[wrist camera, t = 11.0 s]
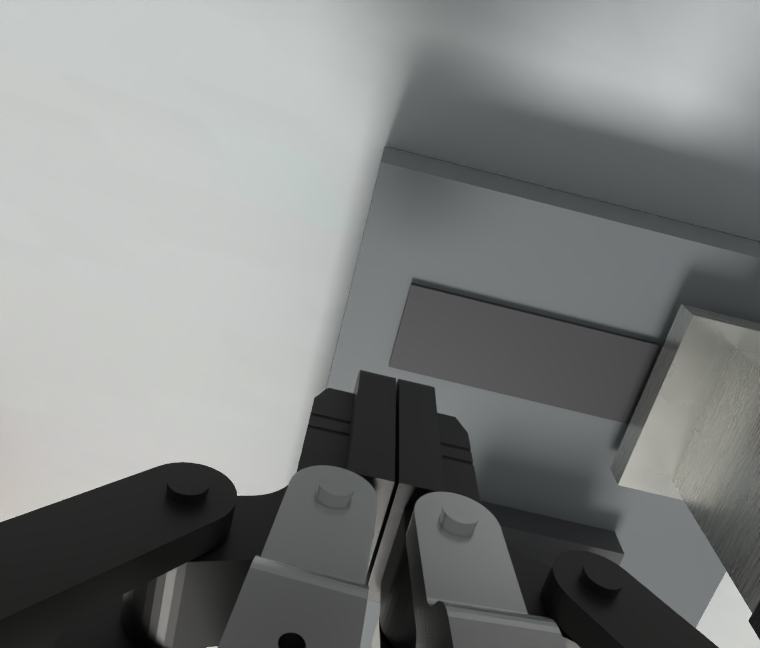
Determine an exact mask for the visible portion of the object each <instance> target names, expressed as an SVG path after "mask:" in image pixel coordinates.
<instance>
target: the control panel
mask: <svg viewBox="0 0 760 648" xmlns="http://www.w3.org/2000/svg"><path fill="white" fill-rule="evenodd" d="M681 304H684V305H688V306H692V307H696V308H700V309H704V310H708V311H712V312H716V313H720V314H724V315H728V316H732V317H736V318H740V319H744V320H748V321H752V322H756V323H760V242H758V241H754V240H750V239H746V238H742V237H739V236H735V235H731V234H727V233H723V232H719V231H715V230H711V229H707V228H703V227H699V226H695V225H692V224H688V223H684V222H680V221H676V220H672V219H668V218H664V217H660V216H656V215H652V214H648V213H645V212H641V211H637V210H633V209H629V208H625V207H621V206H617V205H613V204H609V203H605V202H601V201H598V200H594V199H590V198H586V197H582V196H578V195H574V194H570V193H566V192H562V191H558V190H555V189H551V188H547V187H543V186H539V185H535V184H531V183H527V182H523V181H519V180H515V179H511V178H508V177H504V176H500V175H496V174H492V173H488V172H484V171H480V170H476V169H472V168H468V167H464V166H461V165H457V164H453V163H449V162H445V161H441V160H437V159H433V158H429V157H425V156H421V155H417V154H414V153H410V152H406V151H402V150H398V149H394V148H390V147H386V146H385V148H384V152H383V156H382V160H381V164H380V168H379V172H378V176H377V180H376V185H375V189H374V193H373V197H372V201H371V205H370V209H369V214H368V218H367V222H366V226H365V230H364V234H363V239H362V243H361V247H360V251H359V255H358V259H357V263H356V268H355V272H354V276H353V280H352V284H351V288H350V293H349V297H348V301H347V305H346V309H345V313H344V317H343V322H342V326H341V330H340V334H339V338H338V342H337V346H336V351H335V355H334V359H333V363H332V367H331V371H330V376H329V380H328V384H327V388H332V389H337V390H341V391H345V392H350V393H353V392H354V388H355V384H356V380H357V377H358V373H359V371H360V370H363V371H368V372H372V373H376V374H381V375H385V376H389V377H393V378H396V382H397V380H398V379H402V380H407V381H411V382H415V383H419V384H424V385H428V386H432V387H434V388H435V395H436V405H437V413H441V414H445V415H449V416H454V417H456V418H457V420H458V421H459V422H460V423H461V425H462V426H463V427H464V429H465V430H466V431H467V432H468V435H469V441H470V447H471V451H470V452H472V458H473V466H474V469H475V475H476V481H477V487H478V492H479V498H480V504H481V505H482V506H484V507H485V508H486V509H488V510H489V511H490V512H491V513H492V514H493V515H494V517H495V518H496V519H497V521H498V522H499V525H500V527H501V530H502V533H503V536H504V539H505V543H506V545H507V546H508V547H510V548H511V549H513V550H515V551H516V552H518V553H520V554H522V555H524V556H526V557H529V558H531V559H533V560H535V561H537V562H540V563H542V564H544V565H546V566H548V567H551V566H552V564H553V562H554V560H555V558H556V557H557V556H558V555H559V554H560V553H562V552H565V551H568V550H582V551H588V552H591V553H595V554H598V555H600V556H603V557H605V558H607V559H609V560H611V561H613V562H614V563H616V564H617V565H619V566H620V567H622V568H623V569H624V570H626V571H627V572H628V573H629V574H631V575H632V576H633V577H634V578H635V579H637V580H638V581H639V582H640V583H641V584H643V585H644V586H645V587H646V588H647V589H649V590H650V591H651V592H652V593H653V594H655V595H656V596H657V597H658V598H659V599H661V600H662V601H663V602H664V603H665V604H667V605H668V606H669V607H670V608H672V609H673V610H674V611H675V612H676V613H678V614H679V615H680V616H681V617H682V618H684V619H685V620H686V621H687V622H688V623H690V624H691V625H692V626H693V627H694V628H696V626H697V624H698V622H699V620H700V619H701V617H702V615H703V613H704V611H705V609H706V607H707V606H708V604H709V602H710V600H711V598H712V596H713V594H714V593H715V591H716V589H717V587H718V585H719V583H720V582H721V580H722V578H723V576H724V574H725V572H726V569H725V567H724V566H723V564H722V563H721V561H720V559H719V558H718V556H717V554H716V553H715V551H714V549H713V548H712V546H711V544H710V543H709V541H708V540H707V538H706V536H705V535H704V533H703V531H702V530H701V528H700V526H699V525H698V523H697V521H696V520H695V518H694V517H693V515H692V513H691V512H690V510H689V508H688V507H687V505H686V503H685V502H684V500H680V499H675V498H671V497H667V496H662V495H658V494H654V493H650V492H645V491H641V490H637V489H633V488H628V487H624V486H620V485H618V484H617V482H616V480H615V478H614V476H613V474H612V471H611V469H610V467H611V465H612V463H613V460H614V458H615V456H616V453H617V451H618V449H619V446H620V444H621V442H622V439H623V437H624V435H625V432H626V430H627V428H628V426H629V423H630V421H631V419H632V416H633V414H634V412H635V409H636V407H637V405H638V402H639V400H640V398H641V396H642V393H643V391H644V389H645V386H646V384H647V382H648V379H649V377H650V375H651V372H652V370H653V368H654V365H655V363H656V361H657V359H658V356H659V354H660V352H661V349H662V347H663V345H664V342H665V340H666V338H667V335H668V333H669V331H670V328H671V326H672V324H673V322H674V319H675V317H676V315H677V312H678V310H679V308H680V305H681ZM327 388H326V389H327ZM379 616H380V603H376V602H372V601H367V606H366V612H365V619H364V625H363V631H362V637H361V644H360V648H372V647H371V645H372V638H373V634H374V631H375V628H376V625H377V622H378V619H379Z"/></svg>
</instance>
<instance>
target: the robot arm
mask: <svg viewBox="0 0 760 648" xmlns="http://www.w3.org/2000/svg"><path fill="white" fill-rule="evenodd" d="M470 451H471V447H470V441H469V435H468V432H467V431H466V430H465V429H464V427H463V426H462V425H461V423H460V422H459V421H458V420H457V418H456V417H454V416H449V415H445V414H441V413H437V405H436V395H435V388H434V387H432V386H428V385H424V384H419V383H415V382H411V381H407V380H402V379H398V380H397V382H396V378H393V377H389V376H385V375H381V374H376V373H372V372H368V371H363V370H360V371H359V373H358V377H357V380H356V384H355V388H354V392H353V393H350V392H345V391H341V390H337V389H332V388H327V389H326V390H325V391H323V392H322V393H321V394H319V395H318V396H317V397H315V399H314V403H313V407H312V411H311V415H310V419H309V424H308V428H307V432H306V436H305V440H304V444H303V448H302V453H301V457H300V461H299V465H298V469H297V473H295V474H294V476H293V477H292V478H291V480H290V482H289V485H288V486H286V487H285V488H283V489H281V490H279V491H276V492H273V493H270V494H265V495H257V496H237V491H236V489H235V486H234V485H233V483H232V482H231V480H230V479H229V478H228V477H227V476H225V475H224V474H222V473H221V472H219V471H217V470H215V469H213V468H211V467H208V466H205V465H201V464H195V463H185V462H180V463H170V464H165V465H161V466H158V467H155V468H152V469H149V470H147V471H144V472H141V473H138V474H135V475H132V476H130V477H127V478H124V479H121V480H118V481H116V482H113V483H110V484H107V485H104V486H102V487H99V488H96V489H93V490H90V491H88V492H85V493H82V494H79V495H76V496H73V497H71V498H68V499H65V500H62V501H59V502H57V503H54V504H51V505H48V506H45V507H43V508H40V509H37V510H34V511H31V512H29V513H26V514H23V515H20V516H17V517H14V518H12V519H9V520H6V521H3V522H0V648H206V647H212V646H218V648H360V644H361V637H362V631H363V625H364V619H365V612H366V606H367V601H372V602H376V603H380V616H379V619H378V622H377V625H376V628H375V631H374V634H373V638H372V645H371V647H372V648H719V647H717V646H716V645H715V644H714V643H713V642H711V641H710V640H709V639H708V638H706V637H705V636H704V635H703V634H702V633H700V632H699V631H698V630H697V629H696V628H694V627H693V626H692V625H691V624H690V623H688V622H687V621H686V620H685V619H684V618H682V617H681V616H680V615H679V614H678V613H676V612H675V611H674V610H673V609H672V608H670V607H669V606H668V605H667V604H665V603H664V602H663V601H662V600H661V599H659V598H658V597H657V596H656V595H655V594H653V593H652V592H651V591H650V590H649V589H647V588H646V587H645V586H644V585H643V584H641V583H640V582H639V581H638V580H637V579H635V578H634V577H633V576H632V575H631V574H629V573H628V572H627V571H626V570H624V569H623V568H622V567H620V566H619V565H617V564H616V563H614V562H613V561H611V560H609V559H607V558H605V557H603V556H600V555H598V554H595V553H591V552H588V551H582V550H568V551H565V552H562V553H560V554H559V555H558V556H557V557H556V558H555V560H554V562H553V564H552V566H551V567H548V566H546V565H544V564H542V563H540V562H537V561H535V560H533V559H531V558H529V557H526V556H524V555H522V554H520V553H518V552H516V551H515V550H513V549H511V548H510V547H508V546H507V545H506V543H505V539H504V536H503V533H502V530H501V527H500V525H499V522H498V521H497V519H496V518H495V517H494V515H493V514H492V513H491V512H490V511H489V510H488V509H486V508H485V507H484V506H482V505H481V504H480V498H479V492H478V487H477V481H476V475H475V469H474V466H473V458H472V452H470Z"/></svg>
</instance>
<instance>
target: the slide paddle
mask: <svg viewBox="0 0 760 648" xmlns="http://www.w3.org/2000/svg"><path fill="white" fill-rule="evenodd" d="M610 469H611V471H612V474H613V476H614V478H615V480H616V482H617V484H618V485H620V486H624V487H628V488H633V489H637V490H641V491H645V492H650V493H654V494H658V495H662V496H667V497H671V498H675V499H680V500H684V502H685V503H686V505H687V507H688V508H689V510H690V512H691V513H692V515H693V517H694V518H695V520H696V521H697V523H698V525H699V526H700V528H701V530H702V531H703V533H704V535H705V536H706V538H707V540H708V541H709V543H710V544H711V546H712V548H713V549H714V551H715V553H716V554H717V556H718V558H719V559H720V561H721V563H722V564H723V566H724V567H725V569H726V571H727V572H728V574H729V576H730V577H731V579H732V581H733V582H734V584H735V586H736V587H737V589H738V590H739V592H740V594H741V595H742V597H743V599H744V600H745V602H746V604H747V605H748V607H749V609H750V610H751V612H752V613H753V614H752V615H751V617H750V619H749V622H750V624H751V626H752V628H753V629H754V631H755V633H756V634H757V636H758V638H759V639H760V323H756V322H752V321H748V320H744V319H740V318H736V317H732V316H728V315H724V314H720V313H716V312H712V311H708V310H704V309H700V308H696V307H692V306H688V305H684V304H681V305H680V308H679V310H678V312H677V315H676V317H675V319H674V322H673V324H672V326H671V328H670V331H669V333H668V335H667V338H666V340H665V342H664V345H663V347H662V349H661V352H660V354H659V356H658V359H657V361H656V363H655V365H654V368H653V370H652V372H651V375H650V377H649V379H648V382H647V384H646V386H645V389H644V391H643V393H642V396H641V398H640V400H639V402H638V405H637V407H636V409H635V412H634V414H633V416H632V419H631V421H630V423H629V426H628V428H627V430H626V432H625V435H624V437H623V439H622V442H621V444H620V446H619V449H618V451H617V453H616V456H615V458H614V460H613V463H612V465H611V467H610Z"/></svg>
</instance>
